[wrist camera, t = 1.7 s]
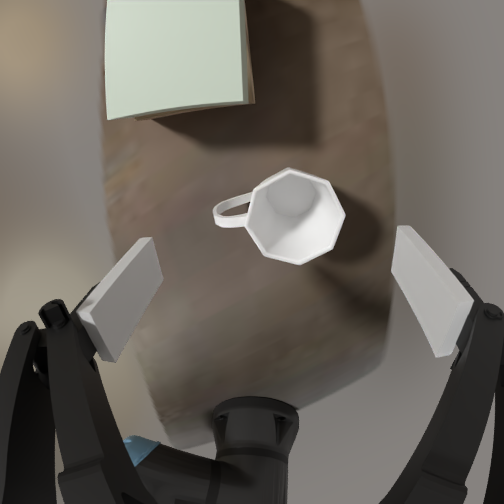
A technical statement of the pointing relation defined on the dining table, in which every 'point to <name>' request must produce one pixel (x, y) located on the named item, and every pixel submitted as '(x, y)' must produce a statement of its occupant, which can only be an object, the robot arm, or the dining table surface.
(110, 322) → the robot arm
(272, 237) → the cup
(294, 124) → the dining table surface
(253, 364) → the dining table surface
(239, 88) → the top block
